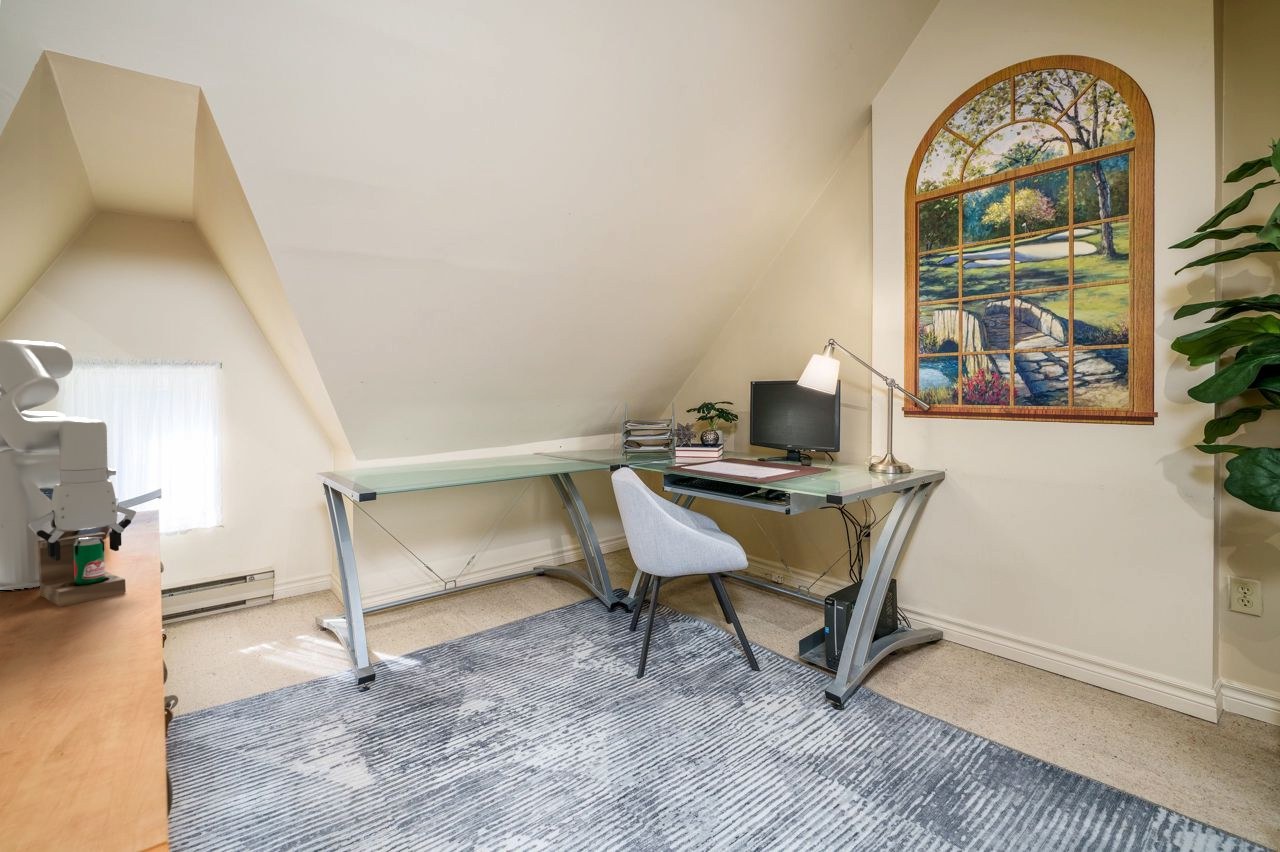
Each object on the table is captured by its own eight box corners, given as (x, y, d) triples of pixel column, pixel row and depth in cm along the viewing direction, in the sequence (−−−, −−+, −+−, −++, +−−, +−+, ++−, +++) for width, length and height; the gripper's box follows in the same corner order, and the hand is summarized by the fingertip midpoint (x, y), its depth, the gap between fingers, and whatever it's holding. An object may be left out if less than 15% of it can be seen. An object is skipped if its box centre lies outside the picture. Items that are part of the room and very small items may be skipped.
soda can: (85, 597, 125) (84, 541, 125) (67, 596, 126) (66, 540, 126) (111, 590, 130) (110, 536, 130) (93, 589, 131) (92, 535, 131)
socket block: (40, 595, 128) (37, 541, 128) (102, 583, 137) (100, 531, 137) (61, 606, 121) (58, 548, 121) (125, 592, 130) (123, 538, 130)
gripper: (127, 471, 137) (129, 544, 138) (22, 479, 122) (24, 560, 123) (141, 474, 133) (142, 549, 134) (33, 482, 118) (35, 567, 119)
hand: (85, 554), depth 128 cm, fingers open, 9 cm apart
